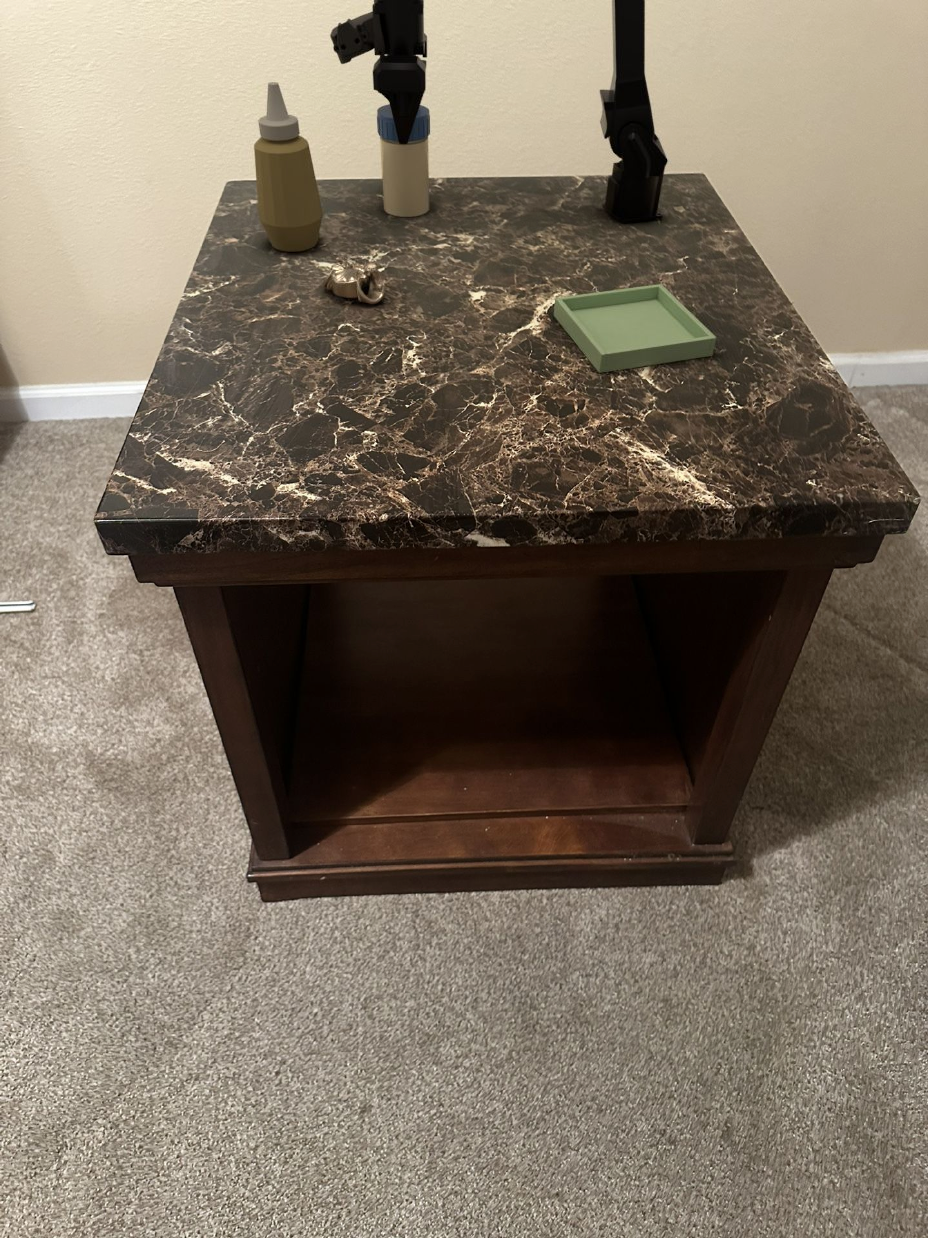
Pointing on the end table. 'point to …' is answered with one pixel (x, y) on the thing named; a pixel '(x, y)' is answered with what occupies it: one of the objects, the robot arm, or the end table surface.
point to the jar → (405, 177)
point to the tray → (633, 328)
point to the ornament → (355, 281)
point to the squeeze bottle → (285, 179)
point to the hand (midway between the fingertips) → (404, 134)
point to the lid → (389, 131)
